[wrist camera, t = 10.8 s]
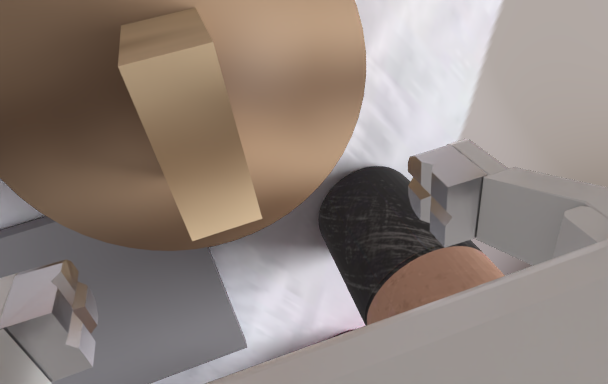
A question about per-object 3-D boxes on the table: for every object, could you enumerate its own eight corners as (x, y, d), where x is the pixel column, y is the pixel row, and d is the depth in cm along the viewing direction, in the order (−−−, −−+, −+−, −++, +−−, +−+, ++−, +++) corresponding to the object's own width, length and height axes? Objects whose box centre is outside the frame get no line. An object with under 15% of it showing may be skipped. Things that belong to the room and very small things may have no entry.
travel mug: (305, 255, 32) (473, 613, 16) (325, 162, 28) (573, 519, 12) (397, 247, 34) (618, 548, 19) (427, 161, 30) (739, 453, 15)
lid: (368, 184, 22) (417, 247, 18) (80, 278, 20) (68, 371, 16) (339, -180, 13) (419, -204, 10) (-171, -86, 11) (-322, -70, 8)
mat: (245, 339, 35) (247, 347, 34) (35, 416, 32) (33, 427, 32) (179, 175, 25) (181, 183, 25) (-127, 268, 23) (-134, 279, 22)
